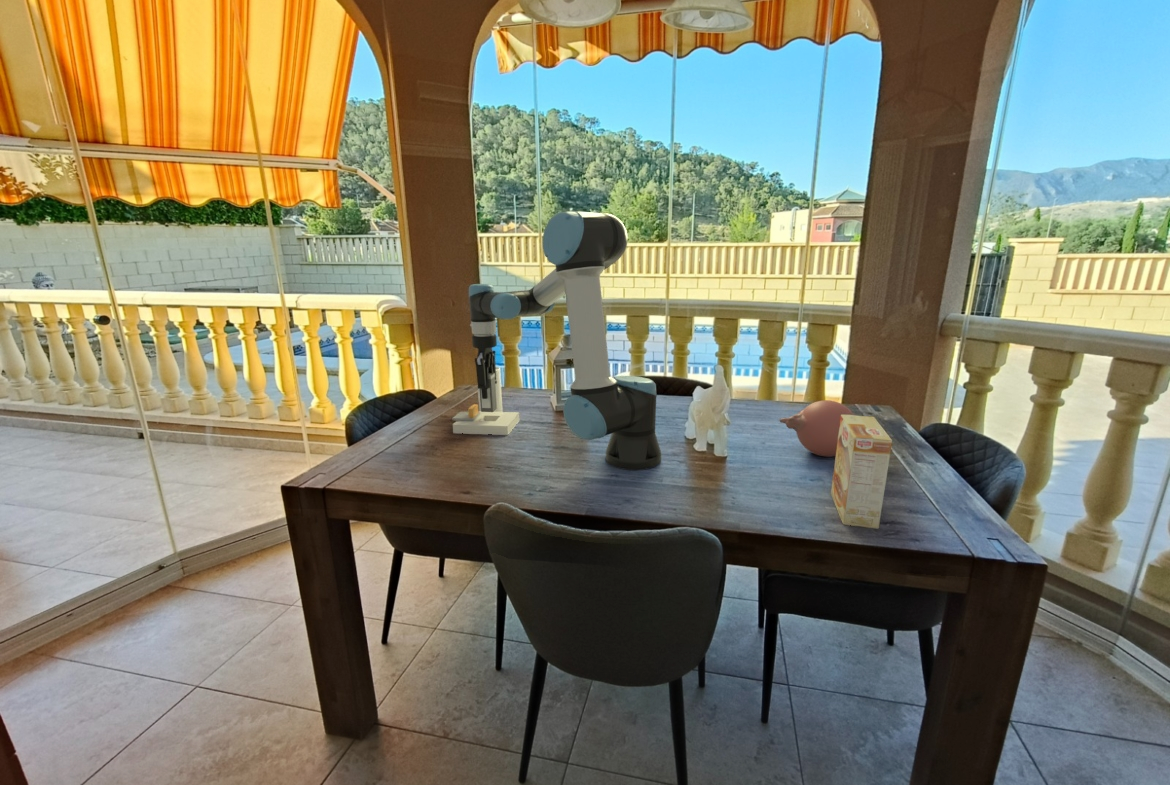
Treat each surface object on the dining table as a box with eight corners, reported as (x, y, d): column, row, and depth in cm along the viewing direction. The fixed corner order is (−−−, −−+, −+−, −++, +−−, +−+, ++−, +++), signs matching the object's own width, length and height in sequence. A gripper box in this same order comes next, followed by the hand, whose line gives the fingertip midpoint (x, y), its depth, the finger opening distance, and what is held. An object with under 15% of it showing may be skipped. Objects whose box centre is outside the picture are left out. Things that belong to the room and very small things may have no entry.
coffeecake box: (829, 492, 118) (839, 413, 113) (863, 496, 116) (875, 416, 111) (841, 524, 104) (853, 436, 99) (879, 529, 102) (894, 440, 97)
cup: (483, 408, 187) (480, 365, 182) (505, 408, 186) (502, 366, 181) (476, 414, 179) (472, 371, 175) (498, 415, 178) (495, 371, 174)
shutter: (480, 414, 169) (479, 403, 168) (473, 421, 163) (472, 409, 162) (460, 413, 170) (459, 403, 169) (452, 420, 164) (451, 409, 163)
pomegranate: (773, 441, 150) (777, 391, 146) (846, 446, 146) (852, 395, 142) (780, 461, 136) (785, 407, 132) (861, 467, 131) (869, 411, 127)
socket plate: (519, 420, 172) (519, 412, 171) (508, 435, 159) (507, 426, 158) (468, 419, 174) (468, 411, 174) (453, 433, 161) (452, 424, 160)
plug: (496, 408, 167) (494, 373, 163) (493, 412, 163) (490, 376, 159) (485, 408, 167) (482, 372, 164) (480, 411, 163) (478, 375, 160)
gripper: (481, 330, 167) (486, 397, 173) (462, 338, 150) (468, 413, 157) (503, 330, 166) (507, 398, 172) (486, 339, 149) (491, 414, 156)
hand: (488, 405), depth 164 cm, fingers closed on plug, 4 cm apart
